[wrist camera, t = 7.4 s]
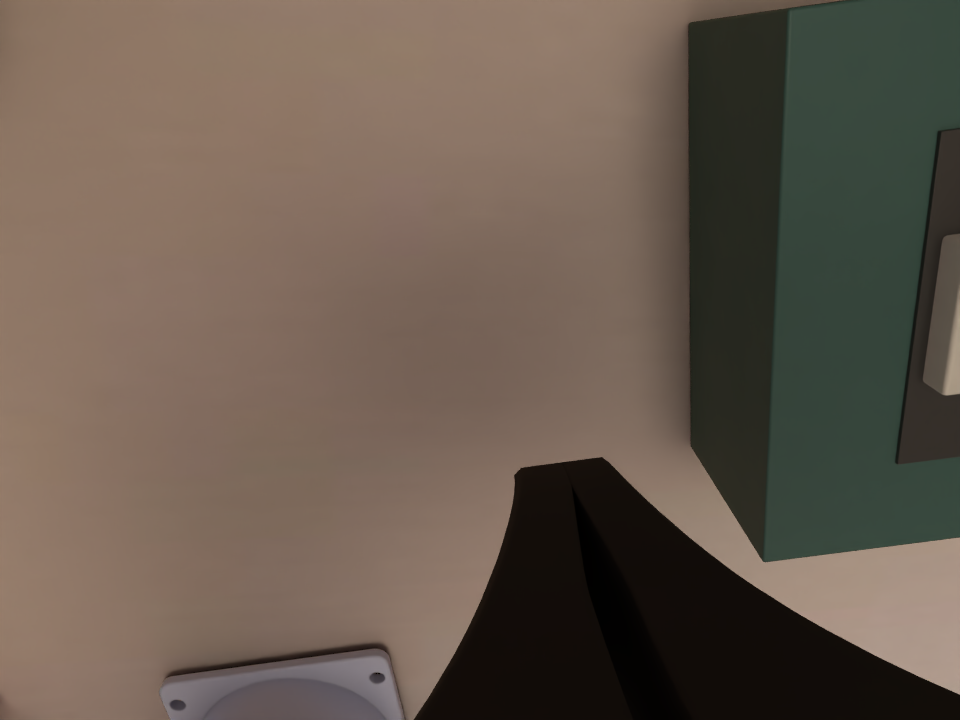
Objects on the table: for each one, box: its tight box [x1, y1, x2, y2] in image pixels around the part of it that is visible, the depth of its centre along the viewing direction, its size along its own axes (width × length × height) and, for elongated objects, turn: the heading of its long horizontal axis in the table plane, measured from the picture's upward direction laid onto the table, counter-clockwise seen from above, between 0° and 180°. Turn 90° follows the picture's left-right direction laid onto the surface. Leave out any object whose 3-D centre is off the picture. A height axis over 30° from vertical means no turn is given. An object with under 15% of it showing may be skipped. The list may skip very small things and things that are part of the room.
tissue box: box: [689, 0, 960, 562], centre depth 17 cm, size 12×6×8 cm
